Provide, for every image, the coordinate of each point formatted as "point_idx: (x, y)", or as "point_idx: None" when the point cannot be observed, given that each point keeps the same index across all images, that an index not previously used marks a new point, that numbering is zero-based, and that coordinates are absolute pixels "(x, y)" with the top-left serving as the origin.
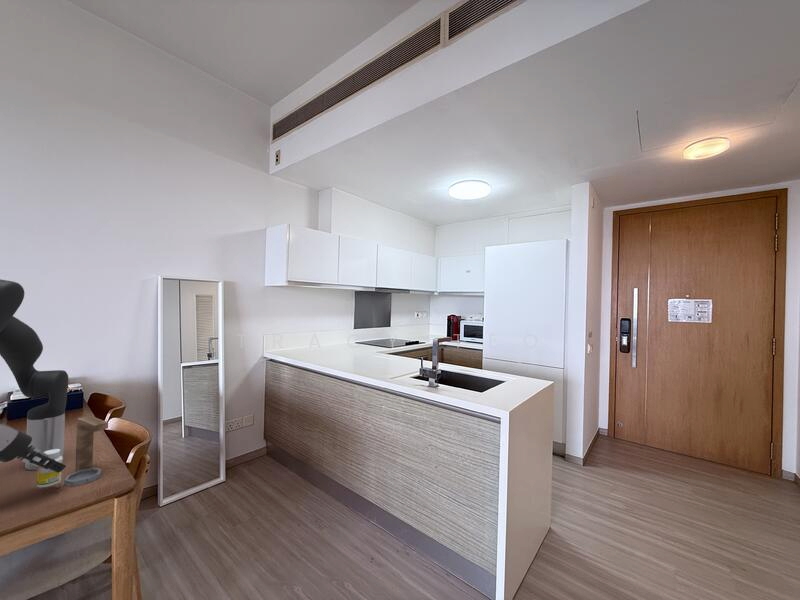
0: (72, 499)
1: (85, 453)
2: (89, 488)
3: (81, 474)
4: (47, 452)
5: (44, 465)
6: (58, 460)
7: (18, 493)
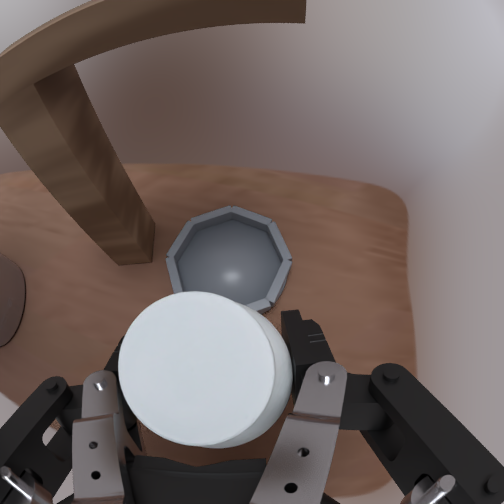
0: (396, 331)
1: (122, 199)
2: (347, 273)
3: (187, 261)
4: (182, 398)
5: (375, 434)
6: (281, 337)
7: (152, 445)
